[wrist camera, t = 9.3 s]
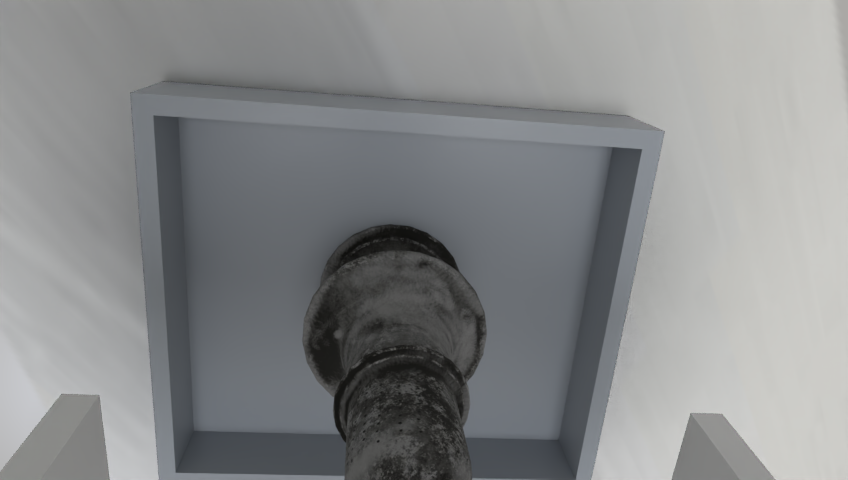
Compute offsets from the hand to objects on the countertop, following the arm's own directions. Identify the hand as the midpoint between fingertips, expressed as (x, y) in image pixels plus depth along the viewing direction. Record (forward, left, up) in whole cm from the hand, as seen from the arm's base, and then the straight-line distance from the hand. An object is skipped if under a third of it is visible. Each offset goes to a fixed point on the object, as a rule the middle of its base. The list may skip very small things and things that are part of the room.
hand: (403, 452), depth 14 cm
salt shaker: (0, 0, -10) cm, 10 cm away
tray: (0, 0, -10) cm, 10 cm away
